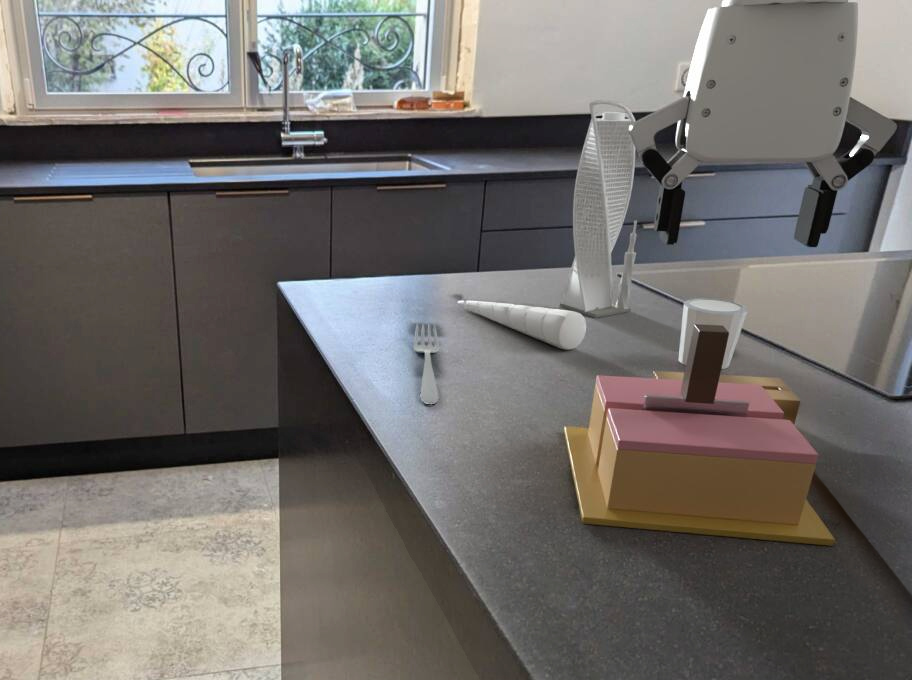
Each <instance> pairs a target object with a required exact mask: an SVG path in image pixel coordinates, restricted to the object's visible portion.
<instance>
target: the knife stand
mask: <svg viewBox="0 0 912 680" xmlns="http://www.w3.org/2000/svg"><path fill="white" fill-rule="evenodd" d="M683 377H684V372H683V371H681V372H679V371H664V370H653V372H652V376H651V378H653V379H670V380H683ZM719 382H720V383H737V384H754V385H761V386H762V387H763V388H764V389H765V391H766V392H767V393H768V394H769V395H770V397H771V398H772V399H773V400H774V401H775V403H776V404H777V405H778V406H779V407H780V409H781V410H782V411H783V412H784V416H783V420H790V421H791V422H792V423H793V424H794V425H795V423H796V420H797V417H798V413H799V410H800V405H801V403H802V402H801V399H800V398H799V397H798V396H797V395H796V394H795V392H793V390H792V389H791V388H790V387H789V386H788V385H787V384H786V383H785V382H784V381H783V379H782V378H780V377H767V376H750V375H734V374H733V375H732V374H720V377H719Z"/></svg>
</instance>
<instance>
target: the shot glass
mask: <svg viewBox="0 0 912 680" xmlns="http://www.w3.org/2000/svg"><path fill="white" fill-rule="evenodd" d="M748 311H749V310H748V307H747V306H746V305H744V304H742V303H739V302H735V301H731V300H726V299H722V298H721V299H720V298H705V297H701V298H697V297H696V298H689V299H687V300H684V301H683V308H682V317H681V318H682V320H681V329H680V339H679V351H678V362H679V363H680V364H682V365H684V366H686V362H687V358H688V353H689V348H690V343H691V338H692V333H693V328H694V324H702V325H722V326H724V327H725V328H726V330H727V331H728V332H729V337H728V341H727V346H726V350H725V355H724V359H723V364H722V368H721V370H727V369H728V368H730V365H731V363H732V362H731V361H732V359H733V356H734V352H735V349H736V347H737V344H738V341H739V338H740V335H741V332H742V329H743V325H744V322H745V320H746V317H747V314H748Z"/></svg>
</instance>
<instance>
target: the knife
mask: <svg viewBox="0 0 912 680" xmlns="http://www.w3.org/2000/svg"><path fill="white" fill-rule="evenodd" d="M728 337H729V332H728V331H727V330H726V328H725V327H724V326H722V325H702V324H694V328H693V333H692V338H691V343H690V348H689V353H688V358H687V362H686V365H685V367H684V372H683V373H684V377H683V382H682V387H681V392H680V394H681V395H682V397H668V396H652V395H645V398H644V403H643V409H642V410H646V411H661V412H676V413H691V414H706V415H722V416H737V417H746V416H747V411H748V407H749V402H748V401H732V400H716V399H715V395H716V391H717V386H718V382H719V377H720V375H721V374H722V373H721V372H722V369H721V368H722V364H723V359H724V355H725V350H726V346H727V341H728Z"/></svg>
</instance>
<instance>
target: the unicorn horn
mask: <svg viewBox="0 0 912 680" xmlns="http://www.w3.org/2000/svg"><path fill="white" fill-rule="evenodd" d="M457 303H458V304H459V306H462V307H463V308H465V309H467V310H469V311H470V312H473V313H475V314H477V315H480V316H482V317H484V318H486V319H488V320H491V321H493V322H496V323H497V324H500V325H503V326H505V327H507V328H510V329H512V330H515V331H517V332H518V333H519V332H520V333H521V334H524V335H525V336H526V335H527V336H529V337H532V338H534V339H536V340H538V341H542V342H544V343H547V344H549V345H551V346H553V347H555V348H558V349H560V350H561V349H562V350H565V351H571V350H574V349H575V348H577V347H578V346H580V345H581V344H582V342H583V341H584V339H585V336H586V333H587V322H586V319H585V317H584V315H583V314H582V313H579V312H576V311H573V310H568V309H558V308H550V307H549V308H548V307H540V306H532V305H525V304H514V303H504V302H495V301H480V300H466V301H465V300H458V301H457Z"/></svg>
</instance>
